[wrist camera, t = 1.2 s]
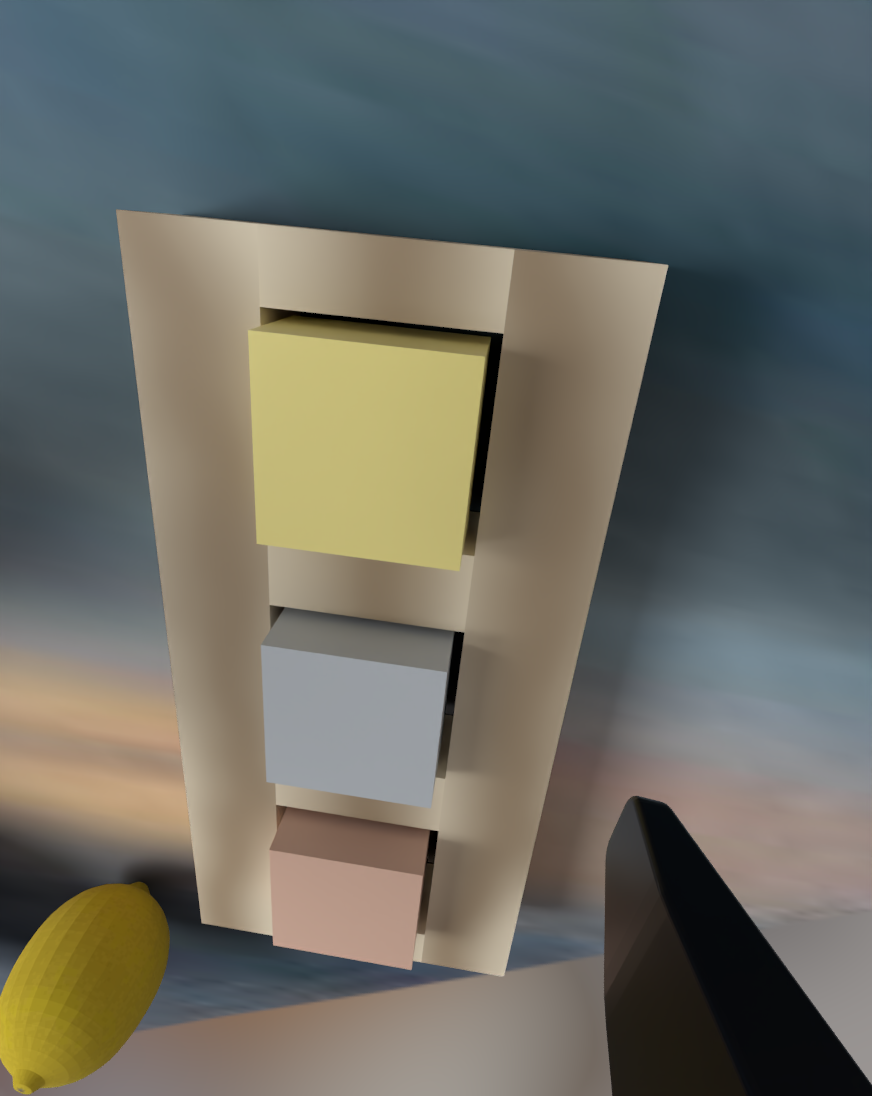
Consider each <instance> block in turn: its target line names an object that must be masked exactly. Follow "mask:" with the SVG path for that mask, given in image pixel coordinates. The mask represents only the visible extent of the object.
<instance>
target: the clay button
mask: <svg viewBox="0 0 872 1096" xmlns="http://www.w3.org/2000/svg"><path fill="white" fill-rule="evenodd" d="M430 831H431V830H428V829H422V828H416V827H410V826H403V825H397V824H391V823H385V822H379V821H373V820H367V819H361V818H355V817H348V816H342V815H336V814H330V813H324V812H318V811H312V810H306V809H299V808H293V807H287V808H286V810H285V813H284V815H283V818H282V820H281V823H280V825H279V827H278V830H277V832H276V835H275V837H274V840H273V842H272V844H271V847H270V849H269V856H270V880H271V905H272V929H273V945H275V946H280V947H286V948H291V949H297V950H303V951H308V952H314V953H319V954H325V955H331V956H336V957H342V958H347V959H353V960H359V961H364V962H370V963H375V964H381V965H387V966H392V967H398V968H403V969H409V970H412V963H413V956H414V949H415V943H416V936H417V929H418V922H419V915H420V909H421V902H422V895H423V888H424V880H425V872H426V863H427V855H428V847H429V839H430Z"/></svg>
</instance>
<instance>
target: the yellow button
mask: <svg viewBox="0 0 872 1096" xmlns="http://www.w3.org/2000/svg"><path fill="white" fill-rule="evenodd" d="M490 343H491V337H486V336H477V335H468V334H458V333H449V332H440V331H431V330H422V329H413V328H404V327H395V326H386V325H377V324H368V323H359V322H350V321H341V320H331V319H322V318H313V317H304V316H295V315H293V316H290V317H287V318H284V319H281V320H278V321H275V322H272V323H268V324H265V325H262V326H259V327H256V328H253V329H250V330H248V345H249V370H250V394H251V418H252V443H253V467H254V491H255V515H256V540H257V544H261V545H269V546H276V547H283V548H291V549H298V550H306V551H313V552H320V553H328V554H335V555H342V556H350V557H357V558H365V559H372V560H379V561H387V562H394V563H402V564H409V565H416V566H424V567H431V568H438V569H446V570H453V571H460V566H461V560H462V555H463V549H464V544H465V538H466V533H467V527H468V522H469V514H470V505H471V497H472V489H473V481H474V473H475V465H476V457H477V448H478V440H479V432H480V424H481V416H482V408H483V400H484V392H485V383H486V375H487V367H488V359H489V351H490Z"/></svg>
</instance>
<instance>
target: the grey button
mask: <svg viewBox="0 0 872 1096" xmlns="http://www.w3.org/2000/svg"><path fill="white" fill-rule="evenodd" d="M454 636H455V631H451V630H443V629H436V628H429V627H422V626H415V625H408V624H401V623H394V622H387V621H380V620H373V619H366V618H359V617H352V616H345V615H338V614H331V613H324V612H317V611H310V610H302V609H295V608H288V607H285V608H284V610H283V611H282V613H281V614H280V616H279V617H278V619H277V621H276V622H275V624H274V625H273V627H272V628H271V630H270V631H269V633H268V635H267V636H266V638H265V639H264V641H263V642H262V644H261V661H262V686H263V710H264V734H265V759H266V782H269V783H276V784H282V785H288V786H294V787H300V788H307V789H313V790H319V791H325V792H331V793H338V794H344V795H350V796H356V797H362V798H369V799H375V800H381V801H387V802H393V803H400V804H406V805H412V806H418V807H425V808H431V805H432V798H433V792H434V785H435V779H436V773H437V766H438V760H439V753H440V747H441V741H442V733H443V725H444V717H445V709H446V701H447V693H448V684H449V676H450V668H451V660H452V652H453V644H454Z"/></svg>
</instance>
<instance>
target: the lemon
mask: <svg viewBox="0 0 872 1096" xmlns="http://www.w3.org/2000/svg"><path fill="white" fill-rule="evenodd" d="M169 941H170V940H169V928H168V923H167V920H166V917H165V914H164V912H163V910H162V908H161V907H160V905H159V904H158V902H157V901H156V900H155V899H154V898H153V897H152V896H151V895H150V892H149V889H148V886H147V885H146V884H145V883H143V882H135V883H132V884H129V885H127V884H105V885H101V886H97V887H93V888H90V889H88V890H85V891H83V892H81V893H80V894H78V895H76V896H75V897H73V898H71V899H70V900H68V901H67V902H65V903H64V904H63V905H61V906H60V907H59V908H58V909H57V910H56V911H54V912H53V913H52V914H51V915H50V916H49V917H48V918H47V919H46V921H45V922H44V923H43V924H42V925H41V926H40V928H39V929H38V930H37V931H36V933H35V934H34V935H33V937H32V938H31V939H30V941H29V942H28V944H27V945H26V947H25V948H24V950H23V951H22V953H21V955H20V956H19V958H18V960H17V961H16V963H15V965H14V967H13V969H12V971H11V973H10V975H9V977H8V979H7V982H6V984H5V986H4V989H3V991H2V994H1V997H0V1058H1V1061H2V1063H3V1064H4V1066H5V1067H6V1069H7V1070H8V1071H9V1073H10V1074H11V1075H12V1076H13V1087H14V1089H15V1090H16V1091H18V1092H20V1093H22V1094H31V1093H33V1092H34V1091H36V1090H38V1089H39V1088H51V1087H59V1086H63V1085H66V1084H70V1083H73V1082H76V1081H78V1080H80V1079H82V1078H84V1077H86V1076H88V1075H89V1074H91V1073H93V1072H94V1071H96V1070H97V1069H99V1068H100V1067H101V1066H103V1065H104V1064H105V1063H107V1062H108V1061H109V1060H110V1059H111V1058H112V1057H113V1056H114V1055H115V1054H116V1053H117V1052H118V1051H119V1050H120V1048H121V1047H122V1046H123V1045H124V1044H125V1042H126V1041H127V1040H128V1039H129V1037H130V1036H131V1035H132V1033H133V1032H134V1030H135V1029H136V1027H137V1026H138V1024H139V1023H140V1021H141V1020H142V1018H143V1016H144V1015H145V1013H146V1011H147V1010H148V1008H149V1006H150V1005H151V1003H152V1001H153V999H154V997H155V995H156V993H157V991H158V988H159V986H160V984H161V981H162V978H163V975H164V972H165V969H166V965H167V960H168V953H169Z"/></svg>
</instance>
